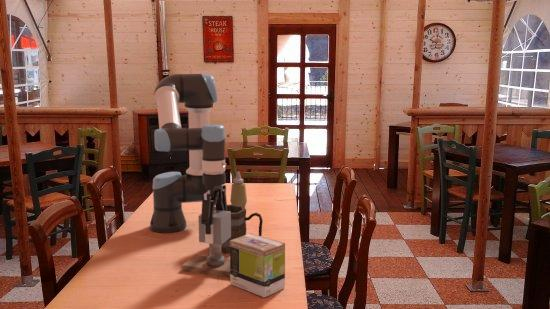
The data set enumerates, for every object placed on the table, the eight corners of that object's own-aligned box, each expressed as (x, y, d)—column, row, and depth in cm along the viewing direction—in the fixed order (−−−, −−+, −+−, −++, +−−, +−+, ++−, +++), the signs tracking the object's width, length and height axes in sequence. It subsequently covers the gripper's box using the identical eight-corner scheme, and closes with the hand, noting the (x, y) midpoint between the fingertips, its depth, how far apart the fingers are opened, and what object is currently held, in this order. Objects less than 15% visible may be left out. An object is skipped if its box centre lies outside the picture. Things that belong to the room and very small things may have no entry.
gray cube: (199, 242, 164) (198, 215, 162) (209, 234, 171) (209, 209, 170) (221, 244, 161) (220, 218, 160) (231, 236, 169) (230, 211, 167)
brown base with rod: (182, 270, 167) (180, 224, 164) (196, 259, 176) (194, 216, 173) (237, 278, 160) (236, 231, 158) (248, 267, 170) (248, 222, 167)
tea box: (286, 288, 154) (286, 242, 151) (263, 299, 146) (263, 251, 144) (251, 274, 164) (251, 231, 161) (229, 284, 156) (228, 239, 154)
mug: (207, 253, 183) (206, 213, 180) (216, 240, 196) (215, 203, 193) (259, 255, 180) (259, 215, 178) (265, 242, 194) (265, 205, 191)
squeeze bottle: (246, 210, 237) (246, 173, 234) (229, 210, 237) (229, 173, 234) (247, 206, 245) (247, 170, 242) (231, 205, 245) (230, 170, 242)
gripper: (210, 179, 152) (211, 250, 155) (236, 167, 171) (237, 230, 175) (188, 177, 154) (190, 247, 158) (217, 165, 173) (218, 228, 177)
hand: (215, 238), depth 166 cm, fingers closed on gray cube, 8 cm apart
